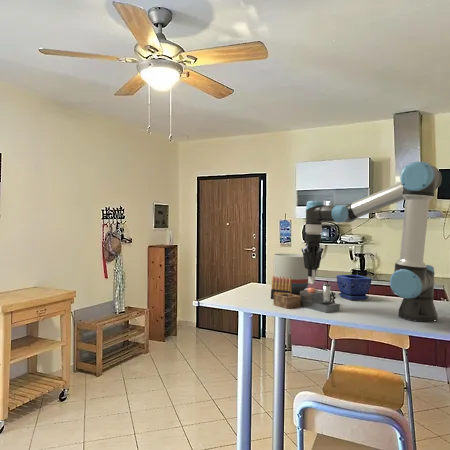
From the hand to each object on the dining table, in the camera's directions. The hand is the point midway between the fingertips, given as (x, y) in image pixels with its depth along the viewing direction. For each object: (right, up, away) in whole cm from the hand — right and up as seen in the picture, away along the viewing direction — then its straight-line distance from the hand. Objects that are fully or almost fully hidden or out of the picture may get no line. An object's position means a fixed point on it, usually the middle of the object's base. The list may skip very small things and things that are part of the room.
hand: (311, 283), depth 192 cm
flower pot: (+27, -12, +23) cm, 37 cm away
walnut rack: (-12, -11, 0) cm, 16 cm away
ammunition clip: (-12, -11, +15) cm, 22 cm away
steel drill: (+5, -11, -7) cm, 14 cm away
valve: (+7, -11, +8) cm, 15 cm away
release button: (0, -6, 0) cm, 6 cm away
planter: (-4, -11, +34) cm, 36 cm away
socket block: (+2, -11, -3) cm, 12 cm away
